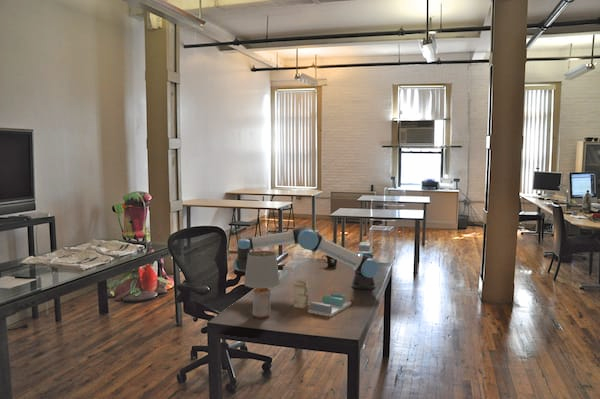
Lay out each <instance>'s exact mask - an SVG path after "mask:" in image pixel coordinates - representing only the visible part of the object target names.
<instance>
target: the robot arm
mask: <svg viewBox="0 0 600 399" xmlns="http://www.w3.org/2000/svg"><path fill="white" fill-rule="evenodd" d="M289 244H293V245H299V246H300V247H301V248H302V249H304V250H307V251H311V252H314V253H317V252H319V253H321V254H324V255H325V256H327V255H328V256H330V257H332V258H334V259H336V260H337V261H338V262H341V263H343V264H346V265H348V266H350V267H351V268H352V269H353V271H354V275H353V278H352V282H351V288H354V289H357V290H372V289H375V288H376V281H375V279H374V278H375V277H376V276H377V275H378V273H379V272H380V264H379V262H378V261H377V260H376V259H374V253H373V252H372V251H370V252H365V251H363V252H359V251H356V252H354V251H352V250H349V249H347V248H345V247H343V246H341V245H339V244H337V243H334V242H333V241H330V240H328V239H326V238H325V237H324V235H323V234H321V233H320V232H317V231H315V230H314V229H313V228H311V227H309V226H302V227H297V228H293V229H291V230H290V231H284V232H279V233H273V234H266V235H260V236H254V237H249V238H247V237H243V238H240V239H237V245H236V246H237V257H236V258H235V259H234V260H233V264H232V265H233V269H235V270H236V271H240V272H244V273H245V272H246V264H247V256H248V253H249V252H251V251H254V250H258V249H263V248H270V247H271V248H272V247H275V246H283V245H289ZM277 265H278V272H279V278H280V277H281V274H280V273H281V272H280V271H283V272H288V273H293V272H294V271H293V270H294V267H292V266H288V265H287V266H286V265H285V264H277Z"/></svg>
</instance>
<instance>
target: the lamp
mask: <svg viewBox="0 0 600 399" xmlns="http://www.w3.org/2000/svg"><path fill="white" fill-rule="evenodd" d="M278 265H279V264H278V259H277V253H276V252H275V251H271V250H252V251H250V252H249V253H248V256H247V264H246V272H245V271H244V273H245V274H244V279H243V280H244V281H243V285H244V286H245V287H248V288H251V289H253V290H252V315H253V316H254V318H257V319H267V318H269V316H270V315H271V290H270V288H275V287H278V286H279V285H280V284H281V283H280V281H281V280H280V277H279V272H280V271H279V270H278Z"/></svg>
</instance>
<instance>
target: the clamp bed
mask: <svg viewBox="0 0 600 399" xmlns="http://www.w3.org/2000/svg"><path fill="white" fill-rule="evenodd" d="M309 304H310V305H309V309H307V313H309V314H313V313H314V314H315V315H318V314H319V315H318V316H323V315H324V317H328V316H329V318H332V317H333V316H335V315H337V314H339V313H340V312H342V311H344V310H345V309H346V308H348V307H350V306H352V301H346V300H345V302H344V303H343V306H336V305H331V304H325V303H323V301H321V302H317V301H311V302H310V303H309ZM331 316H332V317H331Z"/></svg>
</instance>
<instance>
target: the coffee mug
mask: <svg viewBox="0 0 600 399" xmlns="http://www.w3.org/2000/svg"><path fill="white" fill-rule="evenodd" d="M324 257H326V260H327V261H326V260H324V259H323V258H324ZM321 260H322V261H323V262H325V263H326V264H327V267H328V266H329V267H328V268H331V267H334V268H336V267H337V265H338V264H337V263H338V260H336V259H334V258H332V257H330V256H328V255H326V254H324V255H322V256H321ZM335 266H336V267H335Z"/></svg>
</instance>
